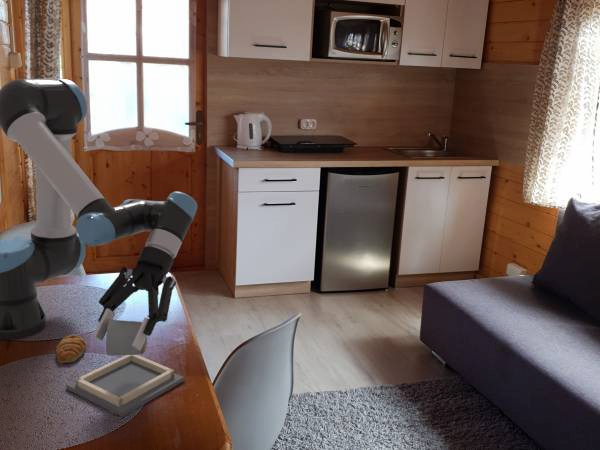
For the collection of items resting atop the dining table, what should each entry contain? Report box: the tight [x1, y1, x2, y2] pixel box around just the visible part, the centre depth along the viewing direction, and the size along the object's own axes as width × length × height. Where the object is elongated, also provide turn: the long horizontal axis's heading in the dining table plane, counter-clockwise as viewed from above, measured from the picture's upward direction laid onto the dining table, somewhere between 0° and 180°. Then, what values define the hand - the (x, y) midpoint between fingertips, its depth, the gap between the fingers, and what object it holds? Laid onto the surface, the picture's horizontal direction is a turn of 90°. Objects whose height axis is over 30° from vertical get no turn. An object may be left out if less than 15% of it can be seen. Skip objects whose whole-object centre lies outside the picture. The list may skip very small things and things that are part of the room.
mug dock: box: [65, 354, 185, 418], centre depth 135 cm, size 18×18×2 cm
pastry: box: [55, 334, 87, 364], centre depth 146 cm, size 9×7×4 cm
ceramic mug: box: [105, 319, 148, 356], centre depth 134 cm, size 11×8×8 cm
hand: (116, 343), depth 129 cm, fingers closed on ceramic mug, 9 cm apart
